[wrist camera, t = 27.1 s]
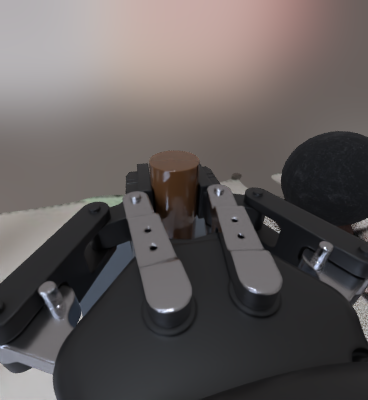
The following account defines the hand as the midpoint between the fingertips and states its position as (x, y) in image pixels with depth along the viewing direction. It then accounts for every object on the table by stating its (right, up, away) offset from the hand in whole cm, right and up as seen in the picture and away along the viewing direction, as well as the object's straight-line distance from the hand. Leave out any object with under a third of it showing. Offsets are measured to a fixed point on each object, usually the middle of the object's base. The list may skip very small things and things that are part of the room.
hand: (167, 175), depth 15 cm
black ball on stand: (+22, -6, +22) cm, 31 cm away
